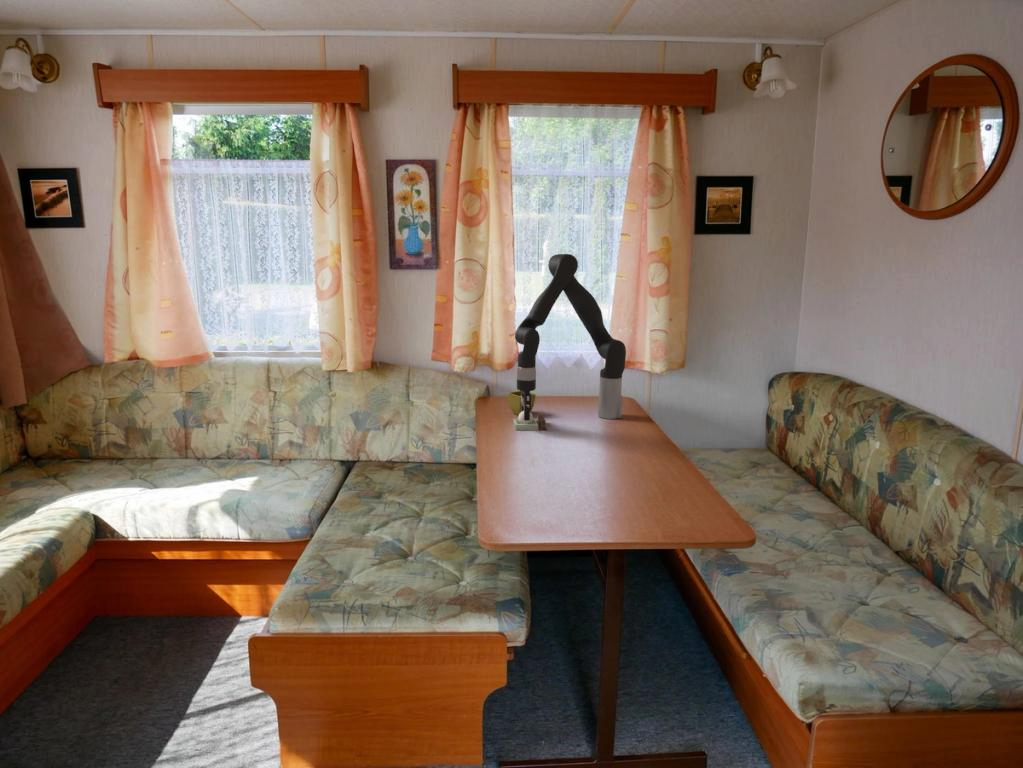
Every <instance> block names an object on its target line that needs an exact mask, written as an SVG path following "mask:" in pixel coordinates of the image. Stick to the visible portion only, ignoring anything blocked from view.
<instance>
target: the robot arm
mask: <svg viewBox="0 0 1023 768" xmlns="http://www.w3.org/2000/svg"><path fill="white" fill-rule="evenodd" d="M547 265H548V270H549V273H550V275H552V277H553V278H552V279H551V281H550V283H548V285H547V286H546V288H545V289H544V290H543V291H542V293H540V295H538V297H537V299H535V301H534V303H533V305H532V306H531V309H530V310H529V313H528V315H526V317H525V318H524V319H523V320H522V322H521V323H520V324H518V325H519V326H518V327H517V328H516V331H515V334H514V338H515V341H516V342H517V343H518V344H520V345H523V347H522V351H519V352H518V355H517V369H516V390H517V391H521V405H523V406H522V411H524V420H525V421H529V420H530V411H531V412H532V410H531V398H532V396H531V393H532V391H535V390H536V389H537V383H536V382H537V370H536V369H537V368H536V366H537V365H536V364H537V361H536V360H537V359H536V357H537V354H538V350H539V347H540V346H539V345H540V341H541V340H540V339H541V337H540V334H539V331H537V330H536V329H537V327H541V326H543V325H544V324H545V323H546V321H547V320H548V319H547V318H548V317H549V315H550V313H551V311H552V309H553V307H554V305H555V303H556V302H557V300H558V299H559V297H560V295H561V294H562V292H564V294H565V296H566V297H567V300H568V301H569V303H570V304H571V306H572V307H573V310H574V312H575V313H576V315H577V317H578V318H579V320H580V321H581V322H582V324H583V326H584V328H585V329H586V330H587V331H586V332H587V333H588V334H589V335H590V338H591V340H592V342H593V343H594V346H595V348H596V350H597V353H598V355H599V356H600V358H602V359H604V360H605V364H604V367H603V368H602V369H600V371H599V372H600V373H599V390H598V391H599V393H598V412H597V413H598V415H597V416H598V417H600V418H603V419H607V420H608V419H609V420H615V419H621V418H622V416H623V415H622V412H623V395H622V388H623V387H622V384H623V373H624V371H625V368H626V367H625V366H626V357H627V356H626V355H627V349H626V345H625V343H624V342H623V341H622V340H619V339H615V338H613V337H612V336H611V335H610V333H609V332H608V329H607V328H606V326H605V324H604V319H603V312H602V309H601V308H600V306H599V305H598V302H597V301H596V299H595V297H594V296H593V294H591V293H590V292H589V290H588V289H586V288H585V287H584V285H582V284H581V283H580V282H579V281H578V280H577V278H576V276H575V274H576V273H577V271H578V267H579V261H578V259H577V258H576V256H574V255H573V254H571V253H558V254H554V255H552V256H551V257H550V258H549V261H548V264H547ZM527 406H529V408H527Z"/></svg>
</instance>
